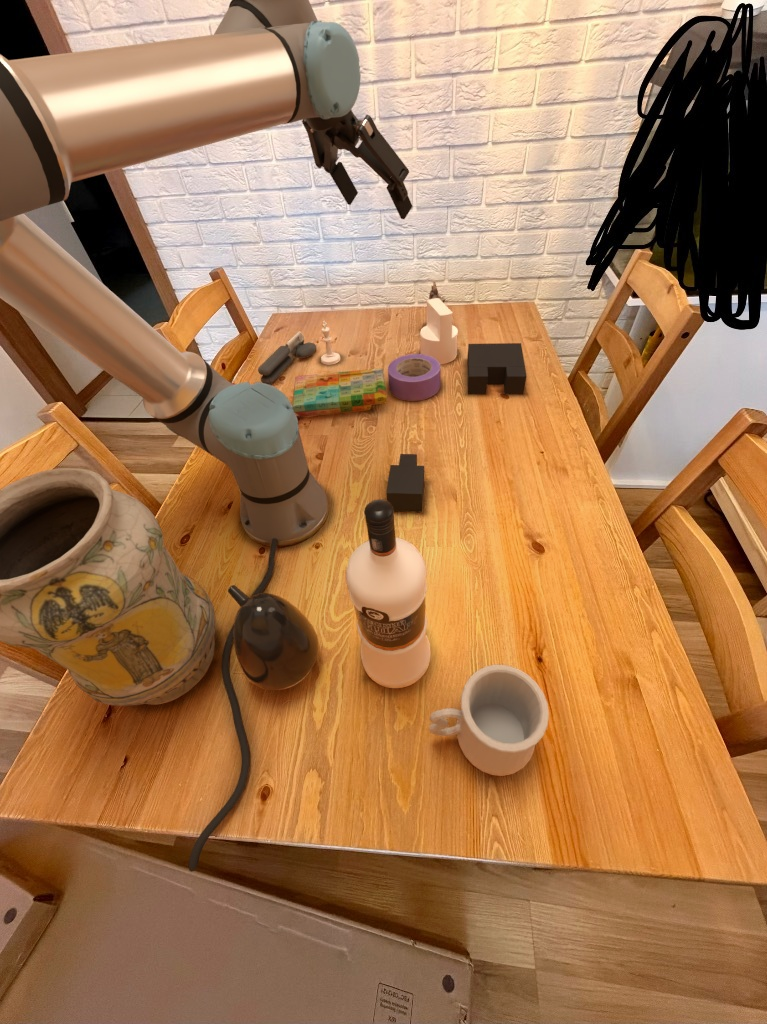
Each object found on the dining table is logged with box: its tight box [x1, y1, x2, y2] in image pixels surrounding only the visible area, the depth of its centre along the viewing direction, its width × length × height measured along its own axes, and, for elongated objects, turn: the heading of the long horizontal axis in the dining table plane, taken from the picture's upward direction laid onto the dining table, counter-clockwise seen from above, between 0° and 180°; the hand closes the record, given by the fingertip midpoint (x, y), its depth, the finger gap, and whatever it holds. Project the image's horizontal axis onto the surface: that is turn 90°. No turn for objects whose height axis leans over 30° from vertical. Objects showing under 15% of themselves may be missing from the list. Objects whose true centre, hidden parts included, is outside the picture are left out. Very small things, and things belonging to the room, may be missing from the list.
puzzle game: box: [292, 367, 388, 418], centre depth 102 cm, size 12×5×20 cm
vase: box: [0, 467, 216, 707], centre depth 53 cm, size 18×18×30 cm
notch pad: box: [466, 342, 528, 395], centre depth 104 cm, size 14×12×4 cm
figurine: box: [425, 280, 446, 326], centre depth 118 cm, size 6×6×12 cm
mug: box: [428, 664, 550, 777], centre depth 51 cm, size 12×9×10 cm
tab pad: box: [385, 453, 425, 513], centre depth 82 cm, size 10×6×4 cm, turn 174°
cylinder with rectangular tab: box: [419, 298, 459, 365], centre depth 109 cm, size 9×9×12 cm
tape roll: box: [387, 353, 442, 402], centre depth 104 cm, size 12×12×5 cm
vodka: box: [345, 498, 431, 689], centre depth 51 cm, size 9×9×30 cm
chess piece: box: [320, 320, 341, 366], centre depth 112 cm, size 5×5×10 cm
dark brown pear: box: [227, 585, 320, 691], centre depth 57 cm, size 10×10×15 cm
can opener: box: [257, 330, 317, 385], centre depth 114 cm, size 19×6×5 cm, turn 153°
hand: (378, 205), depth 85 cm, fingers open, 13 cm apart
